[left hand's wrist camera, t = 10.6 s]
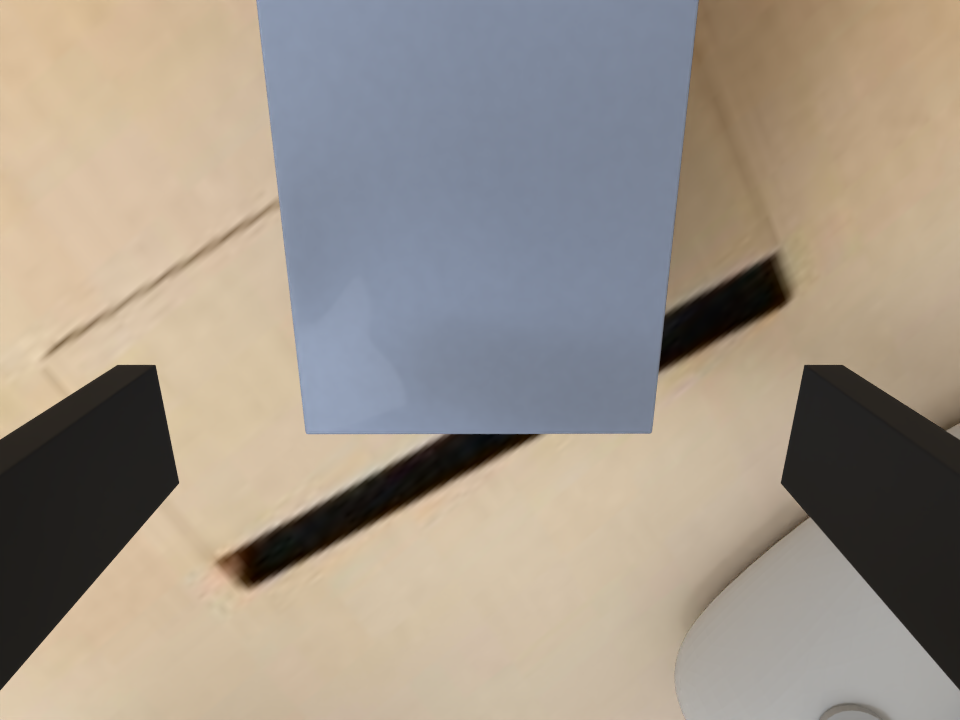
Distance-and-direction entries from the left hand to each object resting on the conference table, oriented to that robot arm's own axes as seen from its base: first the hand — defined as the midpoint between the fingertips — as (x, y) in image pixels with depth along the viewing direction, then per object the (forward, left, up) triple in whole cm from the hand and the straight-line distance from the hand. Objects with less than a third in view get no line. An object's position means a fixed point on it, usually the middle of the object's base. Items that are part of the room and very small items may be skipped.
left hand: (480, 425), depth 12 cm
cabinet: (+7, +1, -16) cm, 17 cm away
